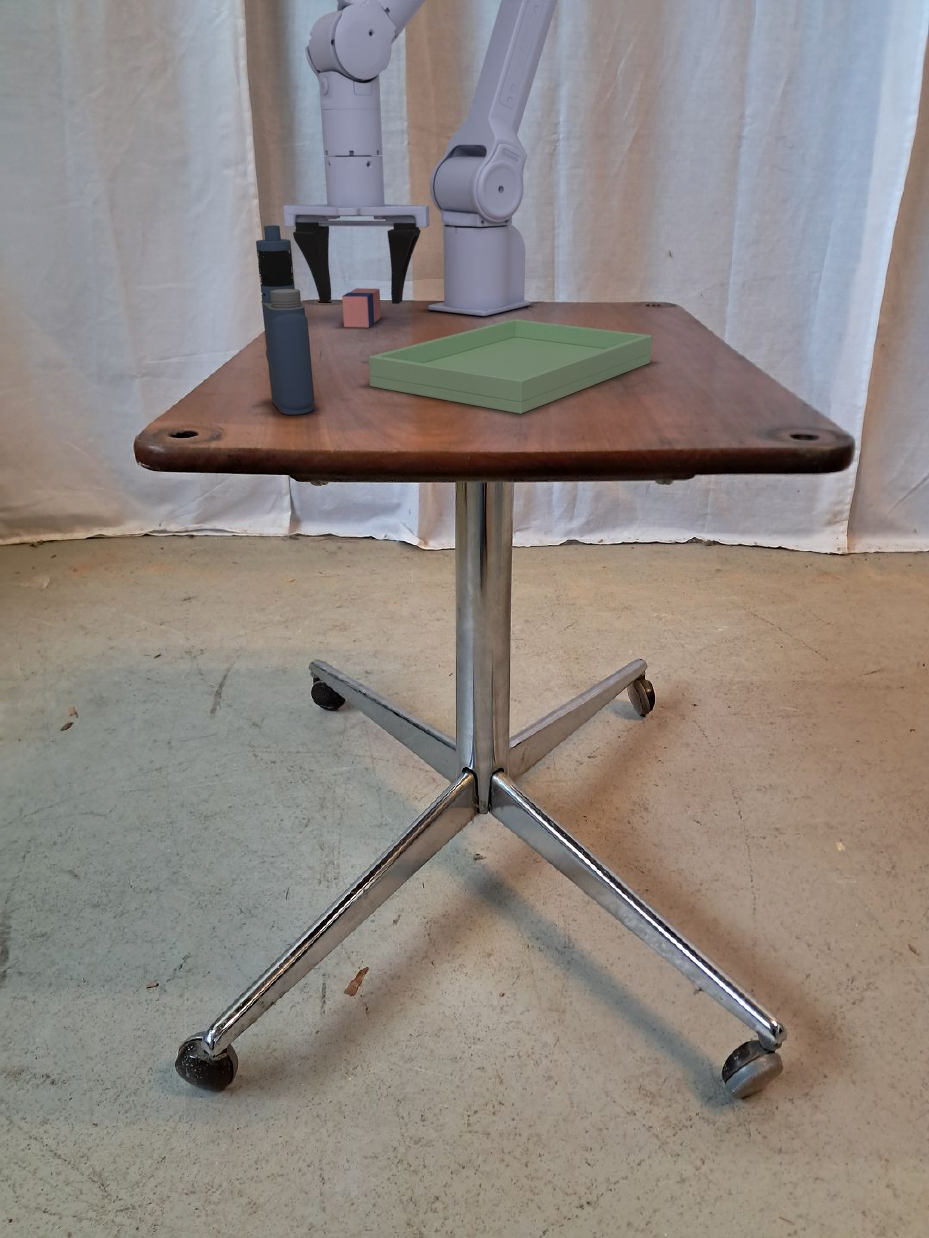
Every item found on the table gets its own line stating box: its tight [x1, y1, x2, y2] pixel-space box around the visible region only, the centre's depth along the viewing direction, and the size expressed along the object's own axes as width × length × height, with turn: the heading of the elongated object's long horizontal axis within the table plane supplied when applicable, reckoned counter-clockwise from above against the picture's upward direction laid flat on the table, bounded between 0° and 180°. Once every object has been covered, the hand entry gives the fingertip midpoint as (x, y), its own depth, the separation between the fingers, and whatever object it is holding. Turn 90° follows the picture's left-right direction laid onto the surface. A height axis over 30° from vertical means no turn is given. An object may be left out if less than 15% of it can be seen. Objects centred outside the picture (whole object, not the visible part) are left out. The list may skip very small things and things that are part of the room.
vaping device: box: [255, 224, 315, 416], centre depth 64 cm, size 3×5×12 cm, turn 21°
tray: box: [368, 318, 653, 415], centre depth 75 cm, size 20×14×2 cm
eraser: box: [341, 287, 382, 329], centre depth 96 cm, size 6×3×3 cm, turn 172°
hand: (361, 302), depth 96 cm, fingers open, 7 cm apart
